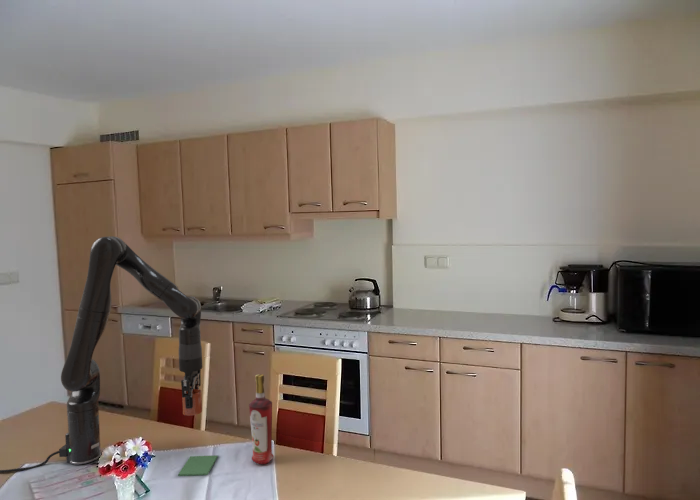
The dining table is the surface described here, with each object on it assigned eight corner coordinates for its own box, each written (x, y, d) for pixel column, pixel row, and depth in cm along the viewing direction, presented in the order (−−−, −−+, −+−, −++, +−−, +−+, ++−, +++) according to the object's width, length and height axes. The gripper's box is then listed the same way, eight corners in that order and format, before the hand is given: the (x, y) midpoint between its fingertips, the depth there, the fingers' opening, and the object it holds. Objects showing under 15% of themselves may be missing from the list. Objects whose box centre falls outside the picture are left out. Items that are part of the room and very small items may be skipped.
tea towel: (178, 476, 152) (178, 474, 152) (190, 458, 164) (190, 456, 164) (207, 475, 152) (207, 473, 152) (217, 457, 164) (217, 455, 164)
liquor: (246, 464, 158) (243, 377, 157) (258, 454, 165) (255, 371, 163) (267, 468, 155) (263, 379, 154) (278, 457, 162) (275, 373, 161)
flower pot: (180, 415, 165) (179, 395, 165) (186, 409, 171) (185, 389, 171) (199, 415, 165) (198, 394, 165) (204, 408, 172) (203, 388, 171)
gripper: (186, 350, 175) (187, 397, 175) (172, 361, 160) (174, 412, 161) (207, 350, 175) (209, 397, 175) (195, 361, 160) (197, 412, 161)
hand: (192, 404), depth 168 cm, fingers closed on flower pot, 6 cm apart
